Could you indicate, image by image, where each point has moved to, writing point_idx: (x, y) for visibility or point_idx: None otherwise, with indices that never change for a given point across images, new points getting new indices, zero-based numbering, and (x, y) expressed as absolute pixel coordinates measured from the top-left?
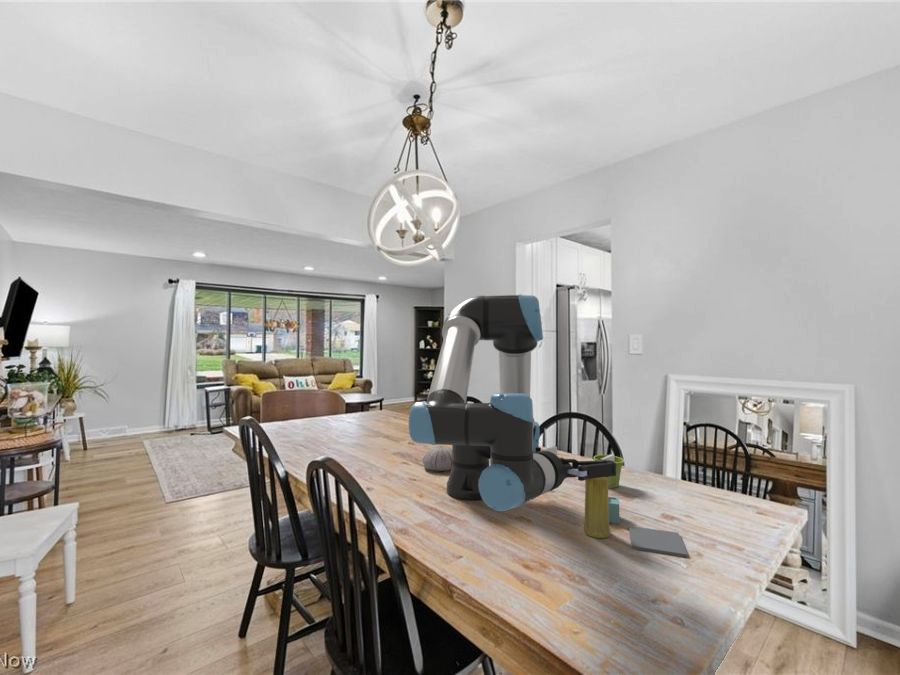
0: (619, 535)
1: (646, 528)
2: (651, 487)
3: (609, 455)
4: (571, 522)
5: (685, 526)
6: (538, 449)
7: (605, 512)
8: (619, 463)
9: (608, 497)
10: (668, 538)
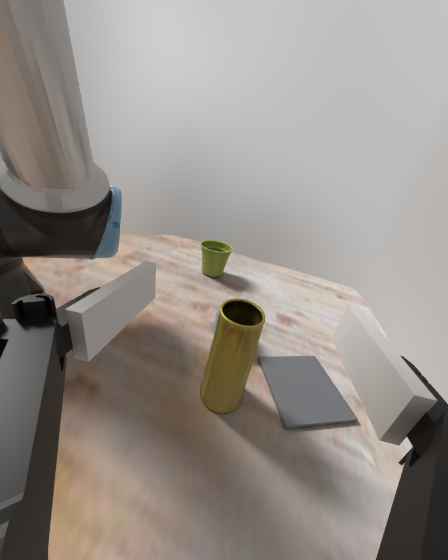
0: (253, 386)
1: (280, 357)
2: (250, 272)
3: (358, 316)
4: (177, 369)
5: (308, 335)
6: (38, 310)
7: (246, 374)
8: (229, 252)
9: None
10: (314, 376)
